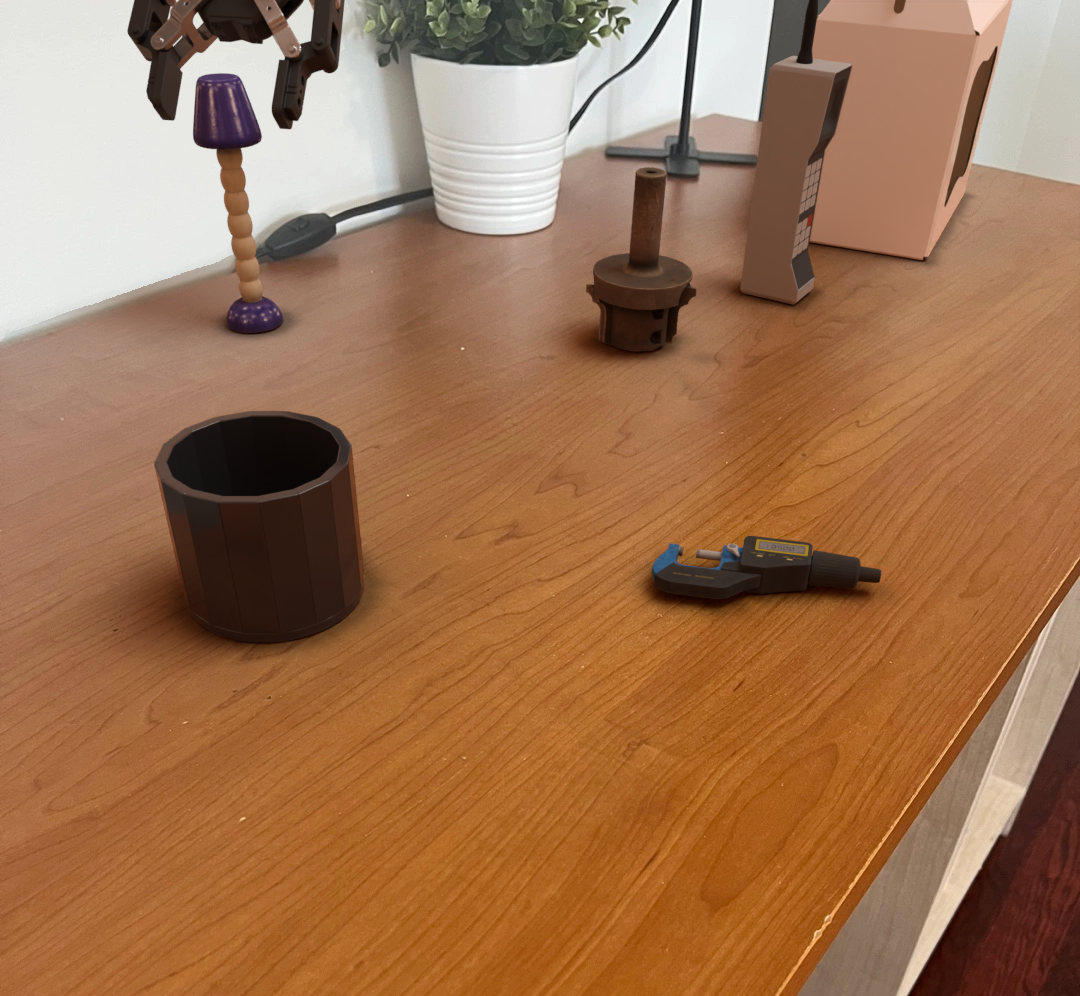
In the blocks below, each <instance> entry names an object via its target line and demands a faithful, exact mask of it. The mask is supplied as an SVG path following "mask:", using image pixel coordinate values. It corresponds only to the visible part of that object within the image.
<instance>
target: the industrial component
mask: <svg viewBox="0 0 1080 996" xmlns="http://www.w3.org/2000/svg"><path fill="white" fill-rule="evenodd" d="M667 176H668V175H667V171H666V170H664V169H662V168H659V167H653V166H651V167H650V166H647V167H640V168H637V170H635V177H634V186H633V187H634V190H633V199H632V201H633V202H632V203H633V204H632V214H631V215H632V216H631V228H630V240H629V252H625V253H619V254H618V253H617V254H613V255H609V256H606V257H603V258H601V259H599V260H598V261H596V262H595V263H594V265H593V268H592V275H593V284H590V283H586V284H585V292H586V293H587V294H588V295H590V297H591V301H592V303H594V304H596V305H597V306H598V308H599V312H600V313H599V326H598V327H599V328H598V342H601V343H603V344H605V345H610V346H613V347H615V348H618V349H621V350H624V351H631V352H652V351H655V350H657V349H660V348H664V347H665V346H666V341H669V342H671V341H673V339H674V336H676V335H677V332H678V321H679V312H680V309H681V308H682V307H685V306H687V305H689V302H690V300H691V299H693V298H696V296H697V289H698V288H697V287H693V286H692V285H691V281H692V280H693V270H692V268H690V266H688V265H687V264H686V263H684V262H683V261H681V260H678V259H676V258H673V257H670V256H665V255H661V254H660V248H661V237H662V228H663V217H664V206H665V198H666V186H667ZM614 351H615V352H616V349H614Z"/></svg>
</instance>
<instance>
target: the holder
mask: <svg viewBox="0 0 1080 996" xmlns="http://www.w3.org/2000/svg"><path fill="white" fill-rule="evenodd" d="M153 466H154V470H155V474H156V480H157V484H158V487H159V488H158V489H159V493H160V497H161V502H162V505H163V510H164V514H165V519H166V523H167V527H168V532H169V537H170V540H171V546H172V550H173V553H174V558H175V564H176V567H177V572H178V575H179V580H180V584H181V589H182V592H183V595H184V598H185V601H186V606H187V609H188V612H189V613H190V615H191V617H192V618H193V620H195V622H196V623H197V624H198V625H200V626H201V627H202V628H203V629H205V630H207V631H209V632H210V633H212V634H215V635H217V636H219V637H223V638H226V639H229V640H233V641H238V642H243V643H244V642H245V643H257V644H258V643H261V644H267V643H269V644H270V643H280V642H281V643H282V642H289V641H294V640H299V639H302V638H306V637H310V636H312V635H315V634H318V633H321V632H323V631H325V630H327V629H329V628H331V627H333V626H335V625H337V624H338V623H340V622H341V621H343V620H344V619H345V618H346V617H348V616H349V615H350V614H351V613H352V612H353V611H354V610H355V608H356V607H357V606H358V604H359V603H360V601H361V599H362V597H363V594H364V590H365V581H364V579H365V578H364V573H365V569H364V567H365V565H364V556H363V546H362V538H361V537H362V535H361V527H360V526H361V525H360V515H359V506H358V505H359V504H358V495H357V486H356V475H355V465H354V455H353V446H352V443H351V442H350V440H349V439H348V437H347V436H346V435H345V433H344V432H343V430H342V429H341V428H340V427H338V426H336V425H334V424H332V423H330V422H328V421H326V420H324V419H322V418H321V417H317V416H313V415H309V414H303V413H300V412H299V413H298V412H293V411H289V410H248V411H242V412H236V413H230V414H224V415H217V416H214V417H211V418H207V419H206V420H203V421H200V422H198V423H195V424H192V425H189V426H187V427H184V428H183V429H181V430H180V431H179V432H177V433H176V434H175V435H173V436H172V437H170V438H169V439H168V440H166V441H165V442H164V443H163V444H162V445H161V447H160V449H159V451H158V453H157V456H156V458H155V460H154V463H153Z"/></svg>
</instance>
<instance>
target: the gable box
mask: <svg viewBox="0 0 1080 996" xmlns="http://www.w3.org/2000/svg"><path fill="white" fill-rule="evenodd" d="M1013 1H1014V0H829V2H828V3H827V5H826V6H825V7H824V8H823V10H822V11H821V12H820V14H818V15H817V21H816V28H815V34H814V41H813V47H812V56H813V59H820V60H828V61H835V62H842V63H849V64H852V69H851V73H850V77H849V81H848V85H847V89H846V93H845V97H844V101H843V105H842V108H841V112H840V116H839V120H838V124H837V128H836V132H835V135H834V137H833V138H832V140H831V141H830V143H829V145H828V146H827V148H826V149H825V155H824V161H823V167H822V173H821V178H820V184H819V190H818V196H817V202H816V208H815V214H814V220H813V226H812V231H811V237H810V243H811V244H812V243H813V244H819V245H826V246H831V247H838V248H843V249H849V250H857V251H863V252H867V253H868V252H869V253H874V254H882V255H888V256H893V257H899V258H900V257H901V258H907V259H913V260H919V261H925V260H926V259H928V258H929V256H930V254H932V253H931V252H932V251H933V249H934V247H935V246H936V244H937V242H938V240H939V239H940V237H941V236H942V234H943V232H944V230H945V228H946V226H947V225H948V223H949V221H950V219H951V218H952V216H953V214H954V213H955V211H956V209H957V208H958V206H959V204H960V202H961V201H962V199H963V197H964V195H965V194H966V188H967V185H968V182H969V178H970V177H969V176H970V173H971V170H972V169H971V168H972V166H973V161H974V156H975V153H976V148H977V145H978V141H979V137H980V133H981V128H982V125H983V121H984V117H985V113H986V109H987V104H988V101H989V97H990V93H991V88H992V85H993V81H994V76H995V72H996V69H997V65H998V61H999V57H1000V54H1001V53H1000V52H1001V49H1002V45H1003V41H1004V38H1005V37H1004V36H1005V34H1006V29H1007V25H1008V22H1009V17H1010V13H1011V9H1012V4H1013Z"/></svg>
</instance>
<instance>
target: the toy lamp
mask: <svg viewBox="0 0 1080 996" xmlns="http://www.w3.org/2000/svg"><path fill="white" fill-rule="evenodd" d="M194 92H195V93H194V105H193V106H194V107H193V121H192V123H193V125H192V139H193V142H194V144H195V145H197V146H198V147H200V148H203V149H207V150H208V149H209V150H216V160H217V162H218V164H219V166H220V168H221V169H220V172H219V179H220V184H221V186H222V188H223V190H224V193H223V202H224V204H223V205H224V207H225V210H226V211H227V219H226V224H227V228H228V232H229V233H230V235H231V240H230V245H231V251H232V253H233V255H234V257H235V262H234V270H235V272H236V275H237V277H238V278H239V282H238V291H239V294H240V296H241V297H239V298H238V299H236V300H234V301H233V302H232V303H231V305H230V306H229V308H228V310H227V313H226V326H227V327H228V328H229V330H232V331H234V332H236V333H244V334H257V333H264V332H267V331H272V330H274V329H276V328H278V327H279V326H281V325H282V324H283V323H284V317H283V314H282V311H281V309H280V307H279V306H278V305H277V304H276V303H275V302H274V301H273V300H272V299H270V298H268V297H265V296H263V294H264V289H263V288H264V287H263V283H262V281H261V279H260V272H261V271H260V264H259V261H258V258H257V257H256V254H257V244H256V240H255V238H254V236H253V235H252V234H253V230H254V229H253V228H254V226H253V225H254V224H253V221H252V217H251V215H250V213H249V208H250V201H249V196H248V194H247V191H246V190H245V189H246V185H247V179H246V174H245V171H244V169H243V167H242V164H243V158H244V157H243V151H242V149H245V148H249V147H253V146H255V145H258V144H259V143H261V142H262V139H263V136H262V131H261V127H260V125H259V122H258V119H257V115H256V114H255V111H254V108H253V106H252V105H253V104H252V103H251V100H250V98H249V95H248V93H247V90H246V87H245V85H244V82H243V80H242V78H241V77H240V76H239V75H238V74H234V73H227V72H226V73H222V72H220V73H208V74H204V75H201V76H199V77H197V80H196V82H195V91H194Z"/></svg>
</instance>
